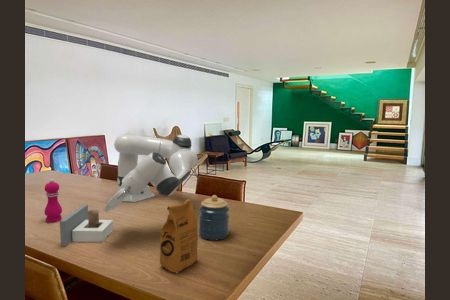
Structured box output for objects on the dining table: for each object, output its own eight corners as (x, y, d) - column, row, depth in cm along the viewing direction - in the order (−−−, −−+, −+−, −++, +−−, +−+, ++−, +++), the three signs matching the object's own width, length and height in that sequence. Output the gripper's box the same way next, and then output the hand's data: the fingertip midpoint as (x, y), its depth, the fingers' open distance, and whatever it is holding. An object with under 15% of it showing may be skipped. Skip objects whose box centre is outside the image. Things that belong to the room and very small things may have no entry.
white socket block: (113, 230, 129) (113, 219, 128) (102, 242, 117) (102, 231, 116) (86, 230, 129) (85, 219, 128) (72, 242, 117) (72, 230, 116)
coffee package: (155, 266, 100) (155, 204, 97) (181, 252, 110) (181, 196, 107) (175, 276, 94) (176, 211, 91) (201, 261, 104) (202, 201, 101)
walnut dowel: (97, 231, 125) (96, 209, 124) (100, 234, 123) (100, 211, 121) (87, 233, 123) (86, 210, 122) (90, 236, 120) (89, 213, 119)
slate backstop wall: (88, 225, 132) (87, 204, 131) (66, 246, 113) (65, 221, 111) (84, 225, 132) (83, 204, 131) (61, 246, 112) (59, 221, 111)
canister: (217, 244, 118) (218, 201, 115) (192, 236, 124) (193, 196, 122) (234, 233, 128) (235, 194, 126) (210, 226, 135) (210, 189, 133)
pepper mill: (44, 224, 133) (41, 181, 131) (45, 218, 140) (43, 178, 137) (62, 221, 137) (60, 180, 134) (62, 216, 143) (60, 176, 140)
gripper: (131, 196, 110) (106, 221, 111) (144, 183, 130) (123, 204, 131) (118, 185, 109) (93, 210, 110) (134, 173, 129) (112, 194, 130)
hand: (109, 206), depth 121 cm, fingers open, 8 cm apart
